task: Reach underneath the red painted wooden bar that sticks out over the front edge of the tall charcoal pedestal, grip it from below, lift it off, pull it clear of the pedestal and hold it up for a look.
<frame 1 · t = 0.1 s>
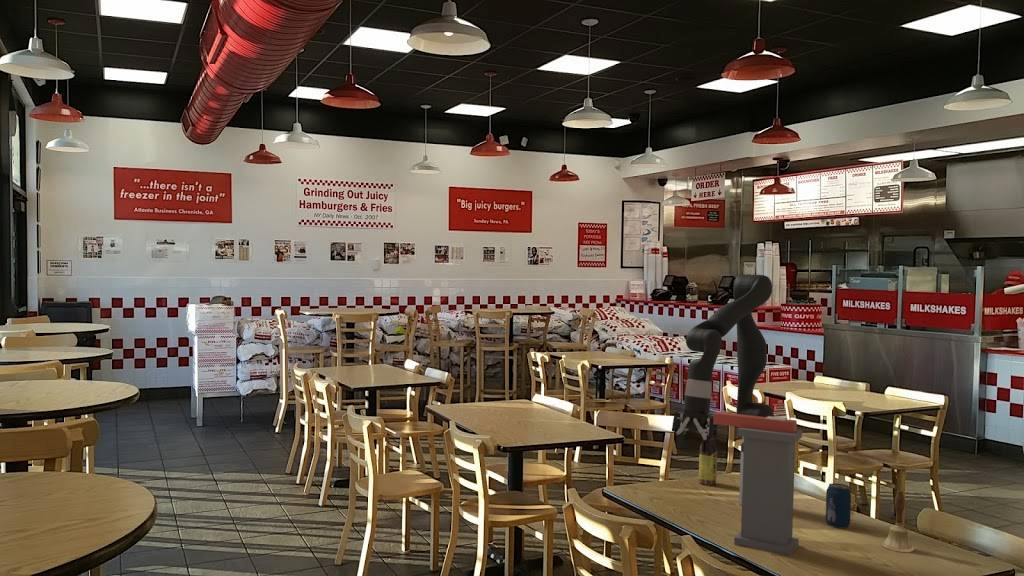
hand: (692, 450, 240), 22 cm above the table, tool pointing down, fingers open, 8 cm apart
hand bell: (897, 548, 225), on the table
sauce bottle: (707, 484, 291), on the table
red bar: (754, 427, 226), point 32 cm above the table, touching pedestal
pedestal: (766, 544, 224), on the table
soda can: (837, 526, 244), on the table
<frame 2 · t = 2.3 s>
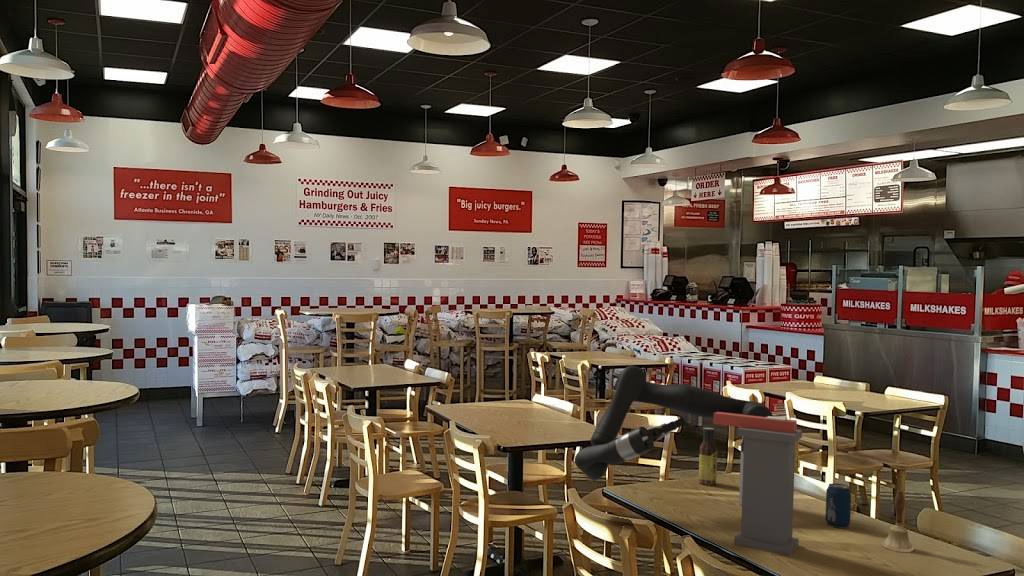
hand: (680, 422, 237), 31 cm above the table, tool pointing upward, fingers open, 8 cm apart
nothing on the table moved.
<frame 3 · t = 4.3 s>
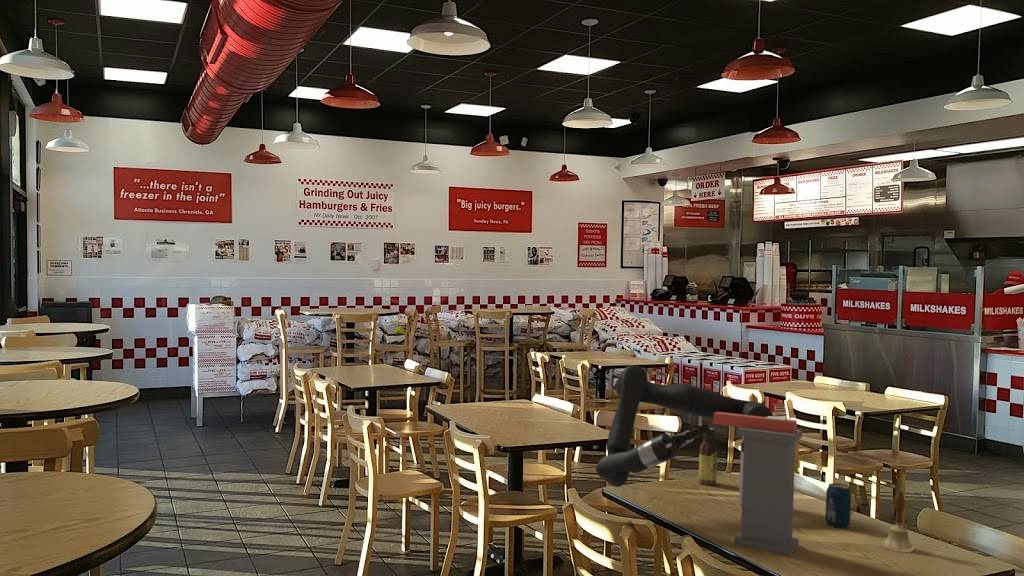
hand: (704, 429, 233), 30 cm above the table, tool pointing upward, fingers open, 8 cm apart
nothing on the table moved.
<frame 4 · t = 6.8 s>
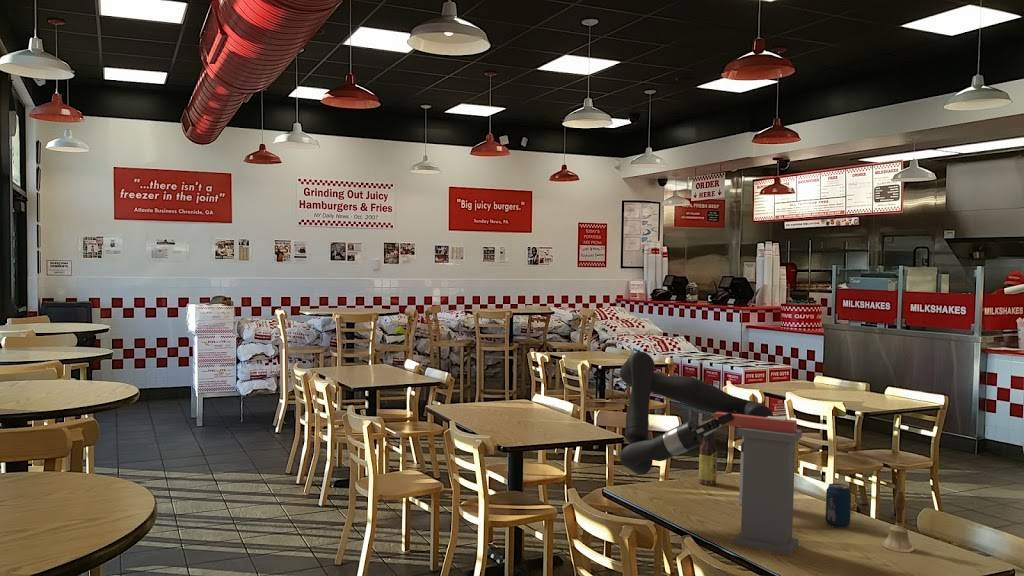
hand: (734, 414, 229), 35 cm above the table, tool pointing upward, fingers closed on red bar, 3 cm apart
red bar: (754, 427, 226), point 32 cm above the table, touching gripper, pedestal
everything else where it was.
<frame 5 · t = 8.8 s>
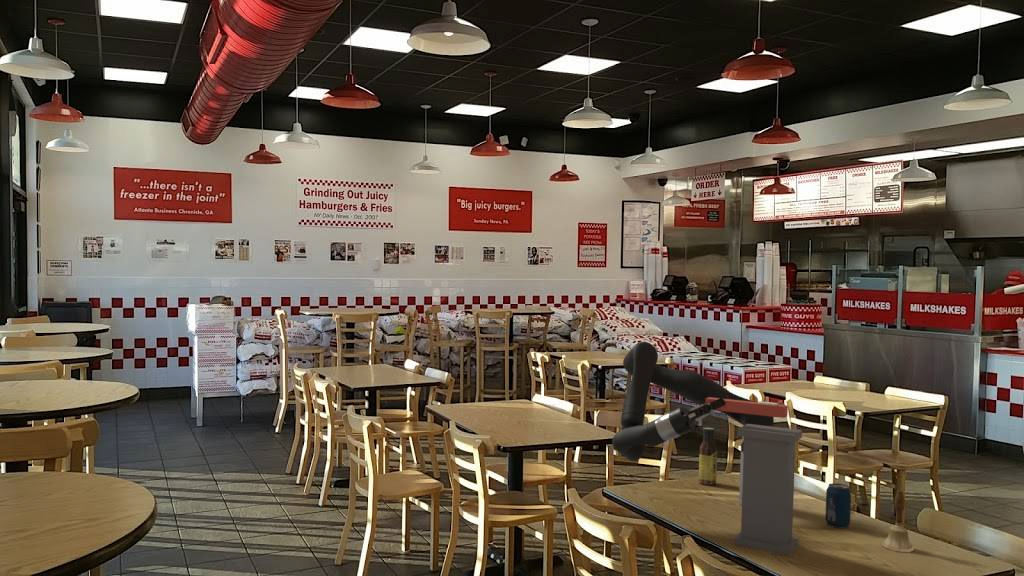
hand: (725, 400, 230), 39 cm above the table, tool pointing upward, fingers closed on red bar, 3 cm apart
red bar: (745, 412, 227), point 36 cm above the table, touching gripper
everything else where it was.
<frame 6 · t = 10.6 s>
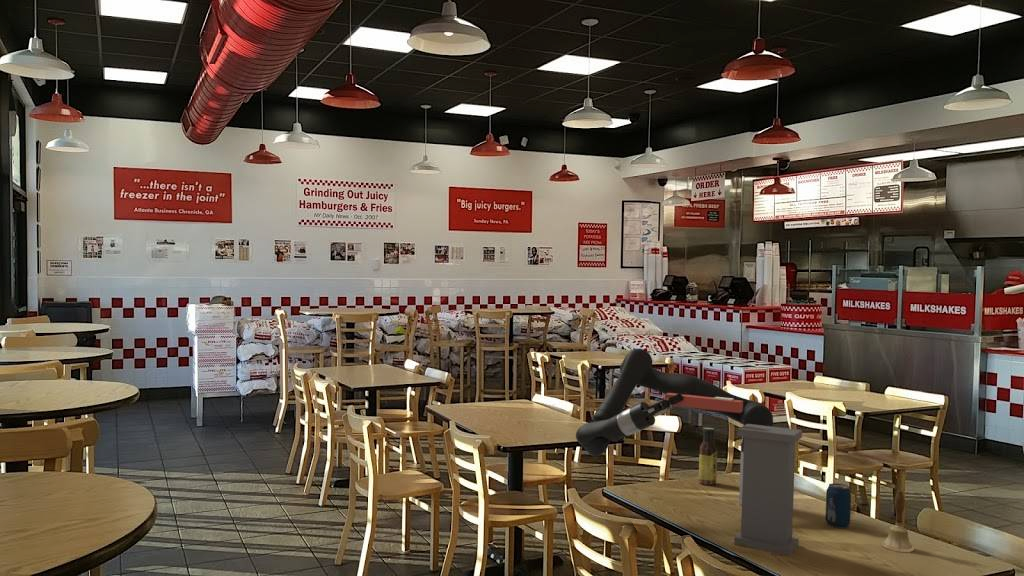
hand: (684, 395, 236), 39 cm above the table, tool pointing upward, fingers closed on red bar, 3 cm apart
red bar: (702, 407, 233), point 36 cm above the table, touching gripper
everything else where it was.
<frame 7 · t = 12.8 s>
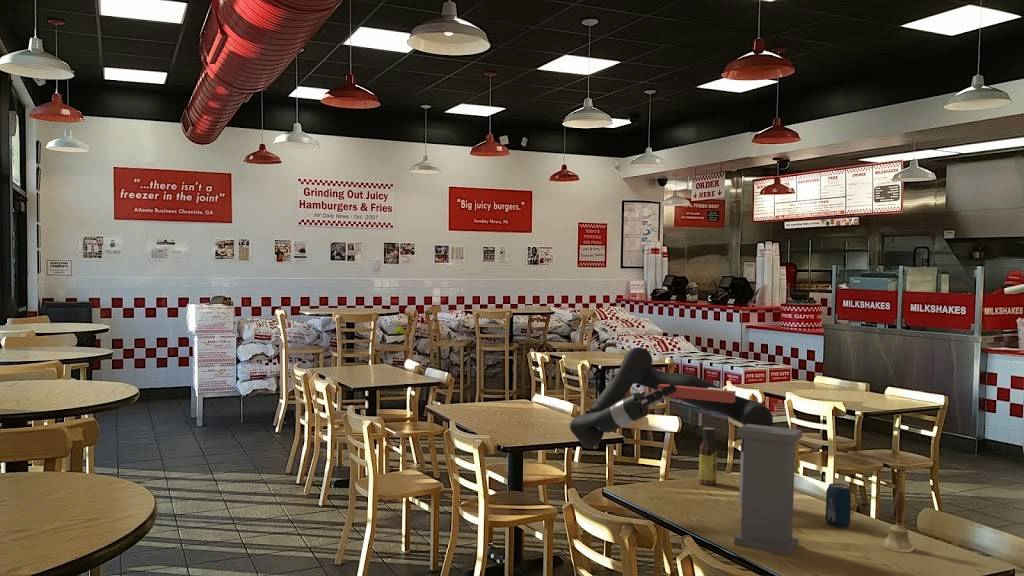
hand: (677, 386, 237), 41 cm above the table, tool pointing upward, fingers closed on red bar, 3 cm apart
red bar: (695, 398, 234), point 38 cm above the table, touching gripper
everything else where it was.
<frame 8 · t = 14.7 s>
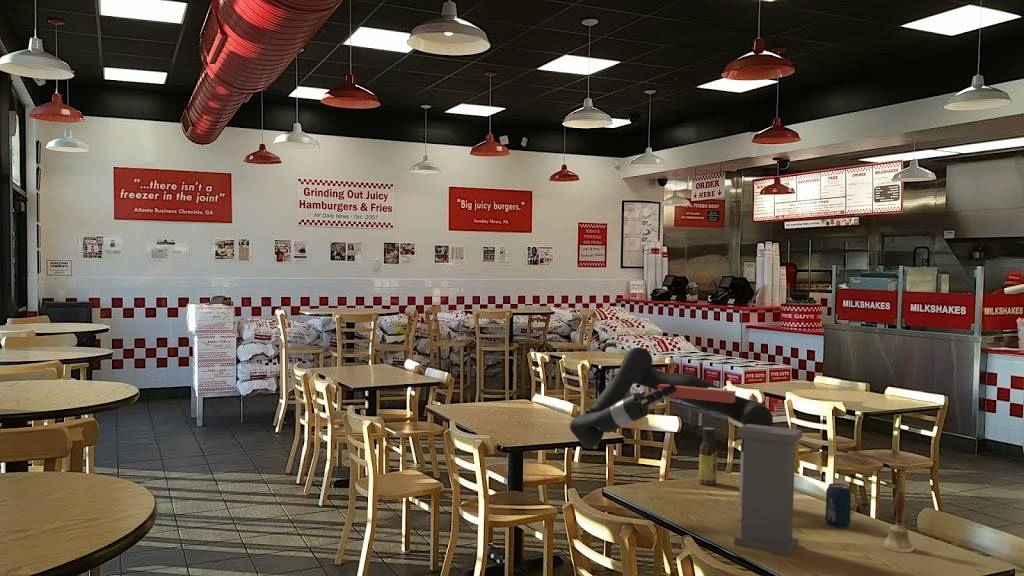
hand: (677, 386, 237), 41 cm above the table, tool pointing upward, fingers closed on red bar, 3 cm apart
red bar: (695, 398, 234), point 38 cm above the table, touching gripper
everything else where it was.
at the end: the gripper is holding red bar; red bar touching gripper; red bar moved 18.1 cm from its start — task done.
